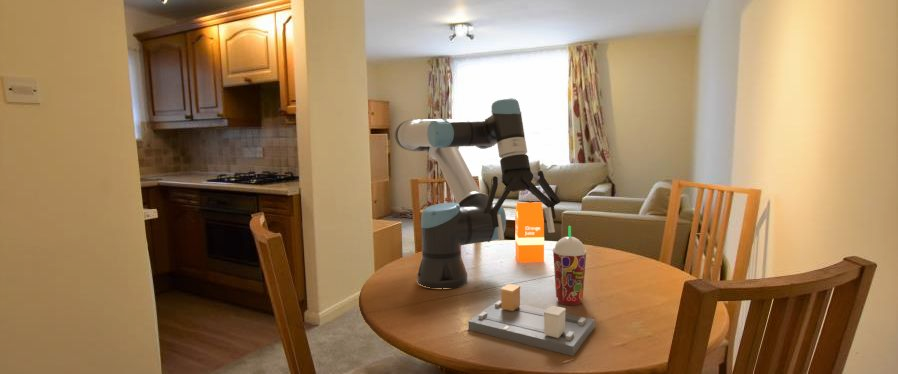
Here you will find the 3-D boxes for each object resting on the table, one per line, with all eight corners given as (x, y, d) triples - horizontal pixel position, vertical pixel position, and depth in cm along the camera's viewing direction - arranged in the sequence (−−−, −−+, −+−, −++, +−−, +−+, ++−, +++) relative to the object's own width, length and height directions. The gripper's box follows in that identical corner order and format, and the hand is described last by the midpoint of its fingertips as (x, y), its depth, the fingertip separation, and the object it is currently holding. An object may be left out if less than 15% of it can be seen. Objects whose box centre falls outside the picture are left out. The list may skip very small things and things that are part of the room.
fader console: (468, 329, 101) (468, 317, 101) (499, 307, 113) (498, 296, 113) (572, 356, 88) (573, 342, 87) (594, 327, 100) (594, 315, 100)
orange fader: (500, 308, 107) (500, 288, 106) (508, 303, 110) (508, 283, 110) (513, 311, 105) (512, 291, 104) (520, 305, 108) (520, 285, 108)
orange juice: (544, 261, 152) (544, 204, 150) (518, 262, 152) (517, 204, 150) (539, 255, 160) (539, 200, 158) (515, 256, 160) (514, 201, 158)
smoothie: (580, 310, 110) (581, 230, 108) (548, 304, 115) (548, 227, 112) (589, 299, 117) (590, 224, 115) (558, 293, 122) (558, 221, 119)
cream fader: (543, 334, 92) (543, 312, 92) (551, 327, 96) (551, 305, 95) (558, 338, 90) (558, 315, 90) (565, 330, 94) (565, 308, 93)
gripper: (470, 158, 113) (483, 242, 110) (563, 148, 116) (578, 228, 114) (465, 164, 120) (477, 243, 117) (553, 154, 124) (566, 230, 121)
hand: (526, 236), depth 115 cm, fingers open, 13 cm apart
